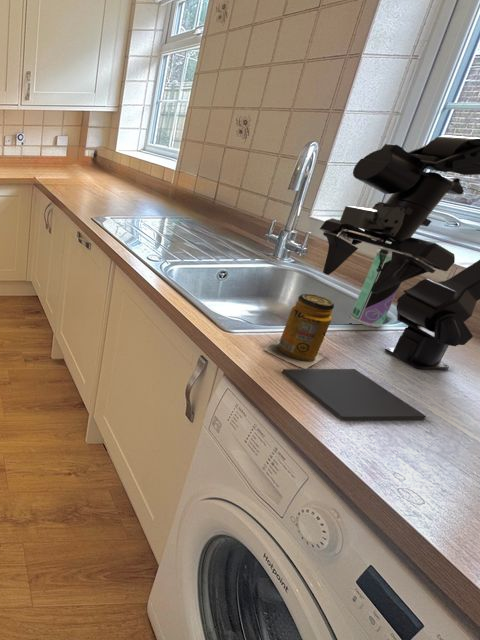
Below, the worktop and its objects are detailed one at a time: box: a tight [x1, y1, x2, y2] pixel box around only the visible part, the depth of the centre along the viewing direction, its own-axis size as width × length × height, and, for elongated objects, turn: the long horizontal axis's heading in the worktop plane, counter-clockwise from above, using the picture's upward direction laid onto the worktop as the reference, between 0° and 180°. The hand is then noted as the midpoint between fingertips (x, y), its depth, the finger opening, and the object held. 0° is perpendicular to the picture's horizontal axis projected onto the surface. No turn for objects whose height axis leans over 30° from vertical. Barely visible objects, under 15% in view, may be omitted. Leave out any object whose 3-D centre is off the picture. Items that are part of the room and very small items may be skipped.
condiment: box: [263, 293, 335, 369], centre depth 78 cm, size 7×8×12 cm
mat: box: [281, 368, 427, 422], centre depth 69 cm, size 14×12×1 cm
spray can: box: [349, 242, 404, 328], centre depth 91 cm, size 6×6×20 cm
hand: (347, 282), depth 74 cm, fingers open, 9 cm apart
